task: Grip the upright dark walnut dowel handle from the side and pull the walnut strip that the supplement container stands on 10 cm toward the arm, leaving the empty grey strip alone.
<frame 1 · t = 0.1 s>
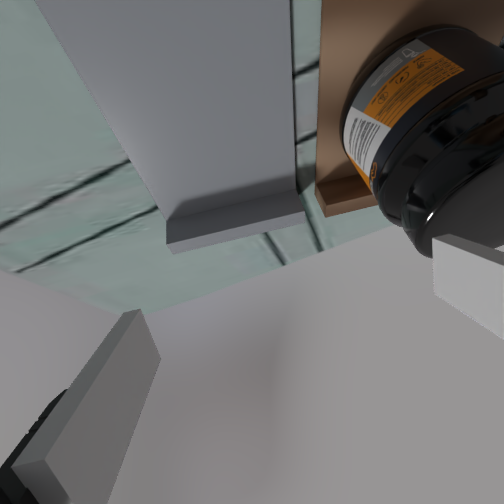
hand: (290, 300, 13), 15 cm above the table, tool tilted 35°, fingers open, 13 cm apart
supplement container: (398, 101, 22), resting on walnut strip
grey strip: (195, 120, 14), point 7 cm above the table, slide at 0.0 cm
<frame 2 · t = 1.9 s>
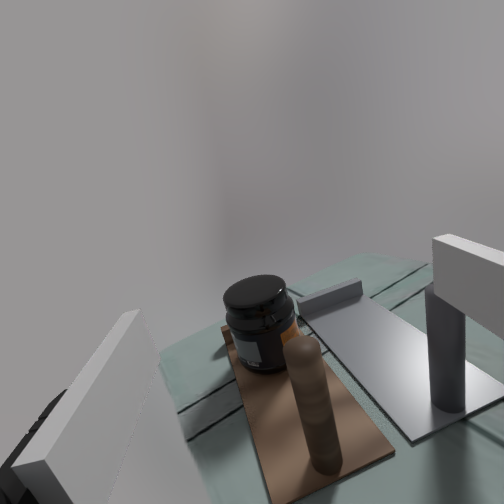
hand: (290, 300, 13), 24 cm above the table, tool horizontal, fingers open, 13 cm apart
supplement container: (271, 354, 46), resting on walnut strip
walnut strip: (274, 339, 38), point 7 cm above the table, slide at 0.0 cm, touching supplement container
grey strip: (371, 301, 40), point 7 cm above the table, slide at 0.0 cm
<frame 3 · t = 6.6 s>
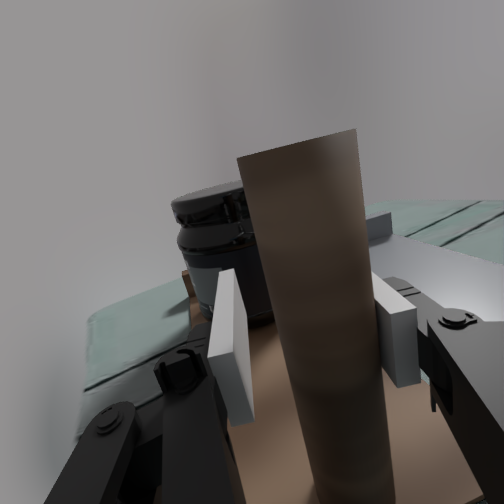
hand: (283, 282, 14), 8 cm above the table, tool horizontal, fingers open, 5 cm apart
supplement container: (253, 305, 29), resting on walnut strip
walnut strip: (251, 259, 21), point 7 cm above the table, slide at -0.1 cm, touching gripper, supplement container
grey strip: (422, 207, 23), point 7 cm above the table, slide at 0.0 cm
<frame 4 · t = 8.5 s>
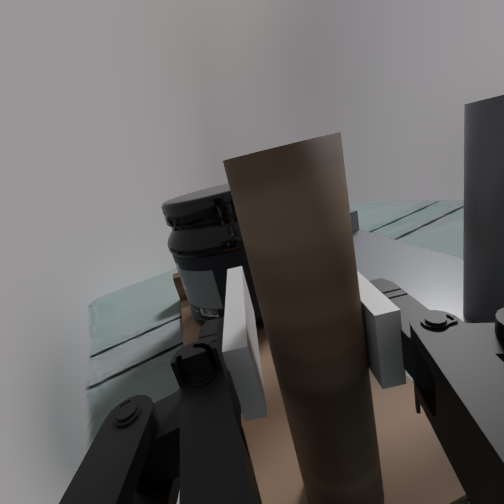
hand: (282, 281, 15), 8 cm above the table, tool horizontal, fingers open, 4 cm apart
supplement container: (245, 308, 29), resting on walnut strip
walnut strip: (242, 262, 21), point 7 cm above the table, slide at 5.2 cm, touching gripper, supplement container
grey strip: (370, 204, 29), point 7 cm above the table, slide at 0.0 cm
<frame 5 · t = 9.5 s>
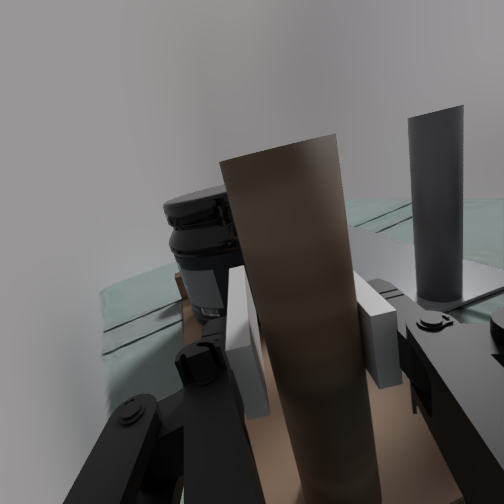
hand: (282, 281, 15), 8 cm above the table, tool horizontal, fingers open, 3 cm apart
supplement container: (246, 307, 29), resting on walnut strip
walnut strip: (242, 261, 21), point 7 cm above the table, slide at 9.6 cm, touching gripper, supplement container
grey strip: (348, 200, 33), point 7 cm above the table, slide at 0.0 cm
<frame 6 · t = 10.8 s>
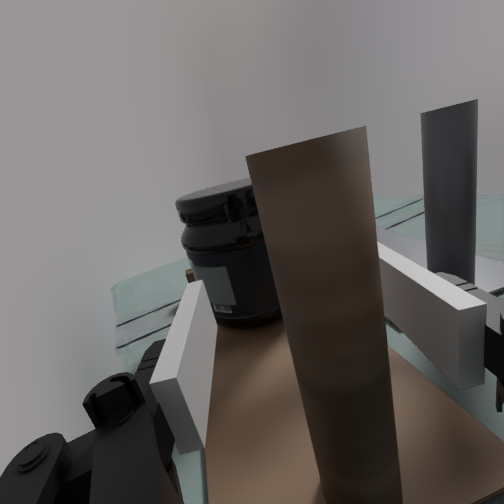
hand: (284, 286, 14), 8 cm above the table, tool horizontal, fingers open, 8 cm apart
supplement container: (257, 304, 29), resting on walnut strip
walnut strip: (256, 258, 21), point 7 cm above the table, slide at 10.0 cm, touching supplement container
grey strip: (357, 196, 33), point 7 cm above the table, slide at 0.0 cm
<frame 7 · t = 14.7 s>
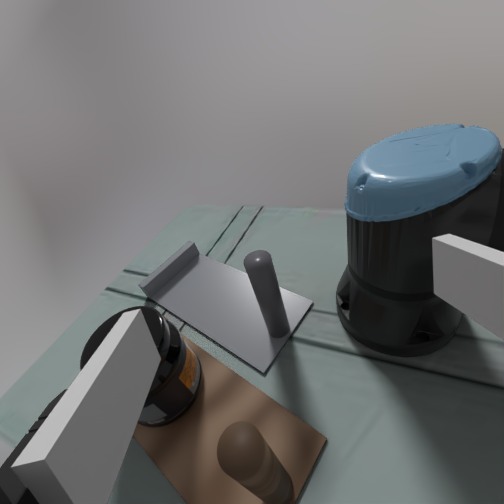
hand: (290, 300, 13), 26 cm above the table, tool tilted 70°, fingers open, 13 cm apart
supplement container: (169, 387, 39), resting on walnut strip
walnut strip: (174, 390, 31), point 7 cm above the table, slide at 9.9 cm, touching supplement container
grey strip: (207, 270, 44), point 7 cm above the table, slide at 0.0 cm
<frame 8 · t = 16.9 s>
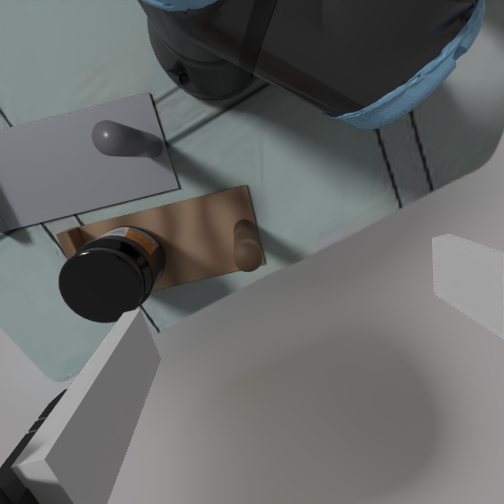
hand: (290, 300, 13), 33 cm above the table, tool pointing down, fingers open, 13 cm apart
supplement container: (134, 255, 45), resting on walnut strip
walnut strip: (159, 262, 38), point 7 cm above the table, slide at 9.9 cm, touching supplement container
grey strip: (37, 167, 34), point 7 cm above the table, slide at 0.0 cm
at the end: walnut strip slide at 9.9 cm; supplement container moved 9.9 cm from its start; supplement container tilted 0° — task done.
